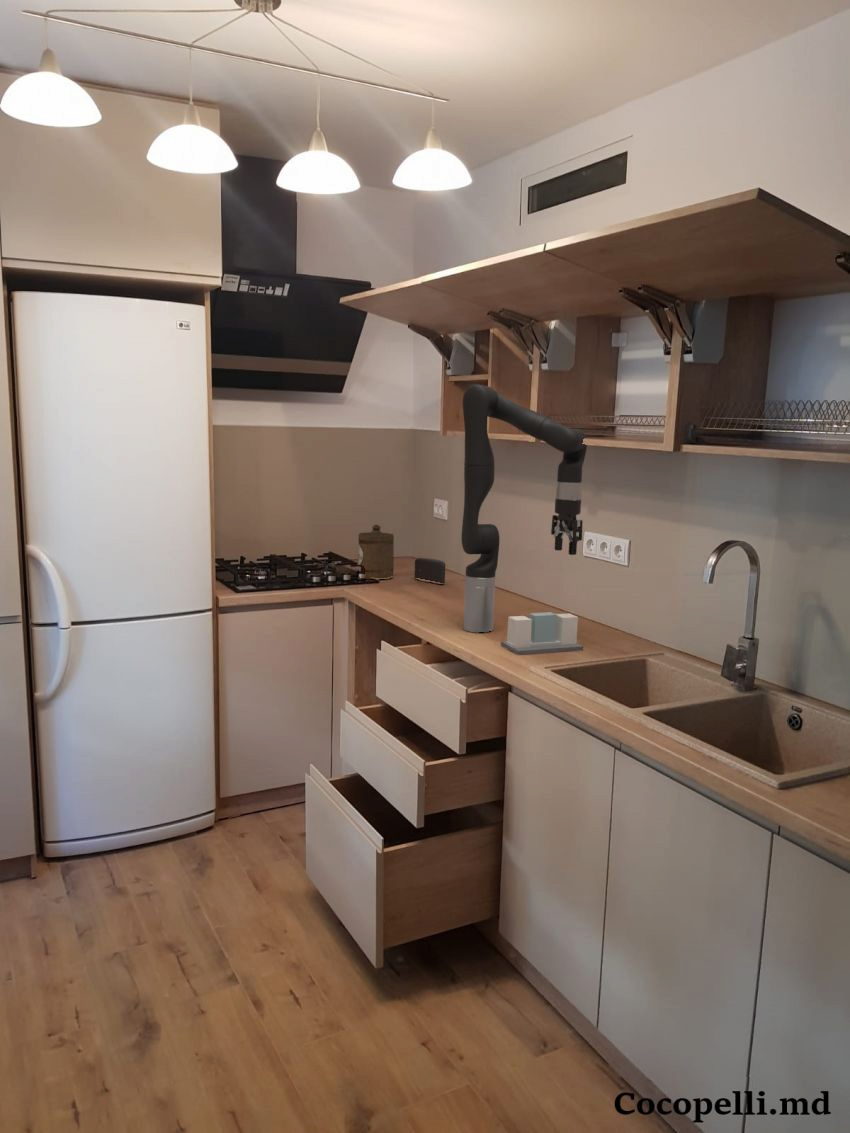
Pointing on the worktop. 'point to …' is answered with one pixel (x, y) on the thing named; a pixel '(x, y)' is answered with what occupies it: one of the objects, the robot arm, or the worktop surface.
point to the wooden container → (376, 553)
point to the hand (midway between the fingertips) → (565, 552)
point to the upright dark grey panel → (430, 569)
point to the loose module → (543, 627)
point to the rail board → (564, 642)
